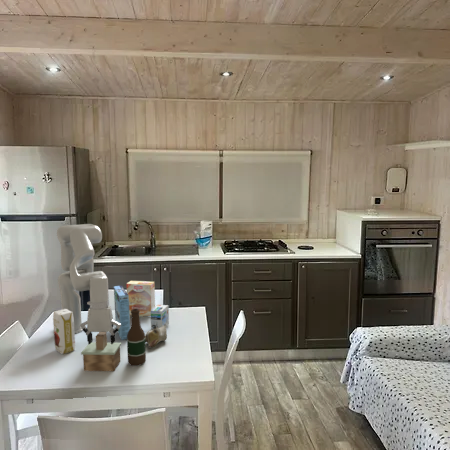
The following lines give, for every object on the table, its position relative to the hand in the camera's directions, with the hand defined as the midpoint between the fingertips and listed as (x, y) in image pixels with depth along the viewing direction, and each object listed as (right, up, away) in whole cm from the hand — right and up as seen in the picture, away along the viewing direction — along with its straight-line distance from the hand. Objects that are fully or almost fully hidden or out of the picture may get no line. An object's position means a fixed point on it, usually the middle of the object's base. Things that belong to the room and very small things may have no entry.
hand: (101, 342), depth 175 cm
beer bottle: (+14, -10, +5) cm, 18 cm away
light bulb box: (+18, -5, +46) cm, 50 cm away
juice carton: (-22, -9, +17) cm, 30 cm away
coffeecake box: (+4, -2, +66) cm, 66 cm away
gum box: (-1, -6, +38) cm, 39 cm away
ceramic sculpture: (+18, -8, +24) cm, 32 cm away
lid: (0, -4, +1) cm, 4 cm away
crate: (0, -10, +1) cm, 11 cm away
